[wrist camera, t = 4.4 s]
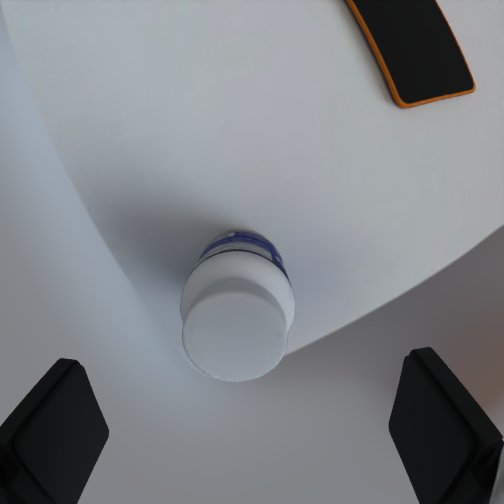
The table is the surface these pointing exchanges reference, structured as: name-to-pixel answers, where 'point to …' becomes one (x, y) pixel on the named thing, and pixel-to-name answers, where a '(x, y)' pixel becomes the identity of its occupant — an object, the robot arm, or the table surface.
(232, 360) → the pill bottle
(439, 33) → the smartphone
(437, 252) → the table surface
